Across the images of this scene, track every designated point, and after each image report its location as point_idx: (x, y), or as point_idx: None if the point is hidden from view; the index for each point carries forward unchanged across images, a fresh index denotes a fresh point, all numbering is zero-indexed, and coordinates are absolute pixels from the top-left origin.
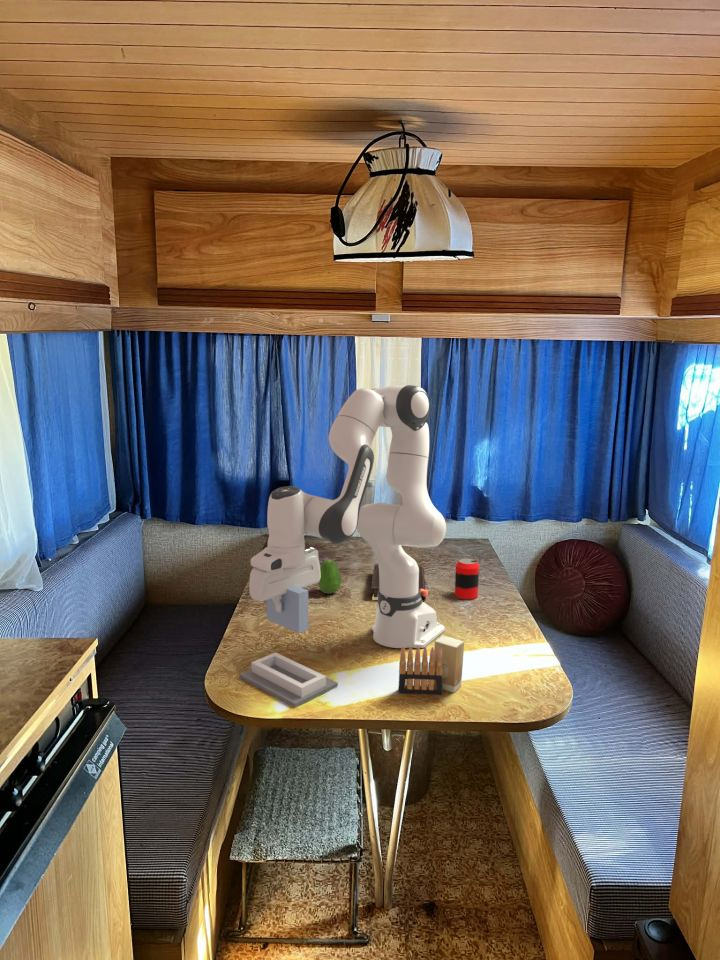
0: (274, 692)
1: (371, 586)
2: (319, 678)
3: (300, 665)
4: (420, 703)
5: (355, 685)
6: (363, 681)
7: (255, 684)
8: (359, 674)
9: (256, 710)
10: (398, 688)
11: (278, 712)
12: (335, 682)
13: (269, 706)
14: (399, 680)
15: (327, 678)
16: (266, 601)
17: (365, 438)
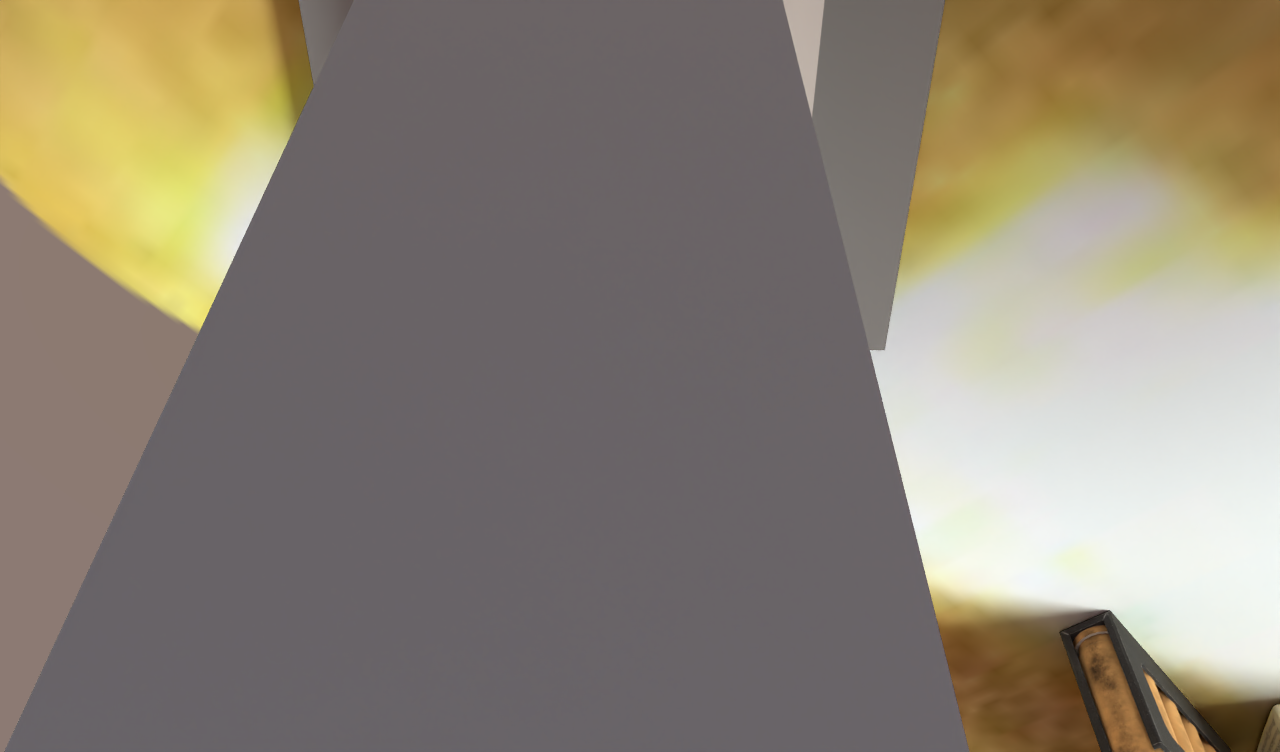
0: (314, 84)
1: None
2: None
3: (797, 39)
4: (1017, 747)
5: (988, 403)
6: (1087, 405)
7: None
8: (1190, 315)
9: (46, 134)
10: (1105, 624)
11: (207, 282)
12: (877, 336)
13: (187, 164)
14: (1091, 719)
15: (895, 242)
16: (284, 149)
17: None
